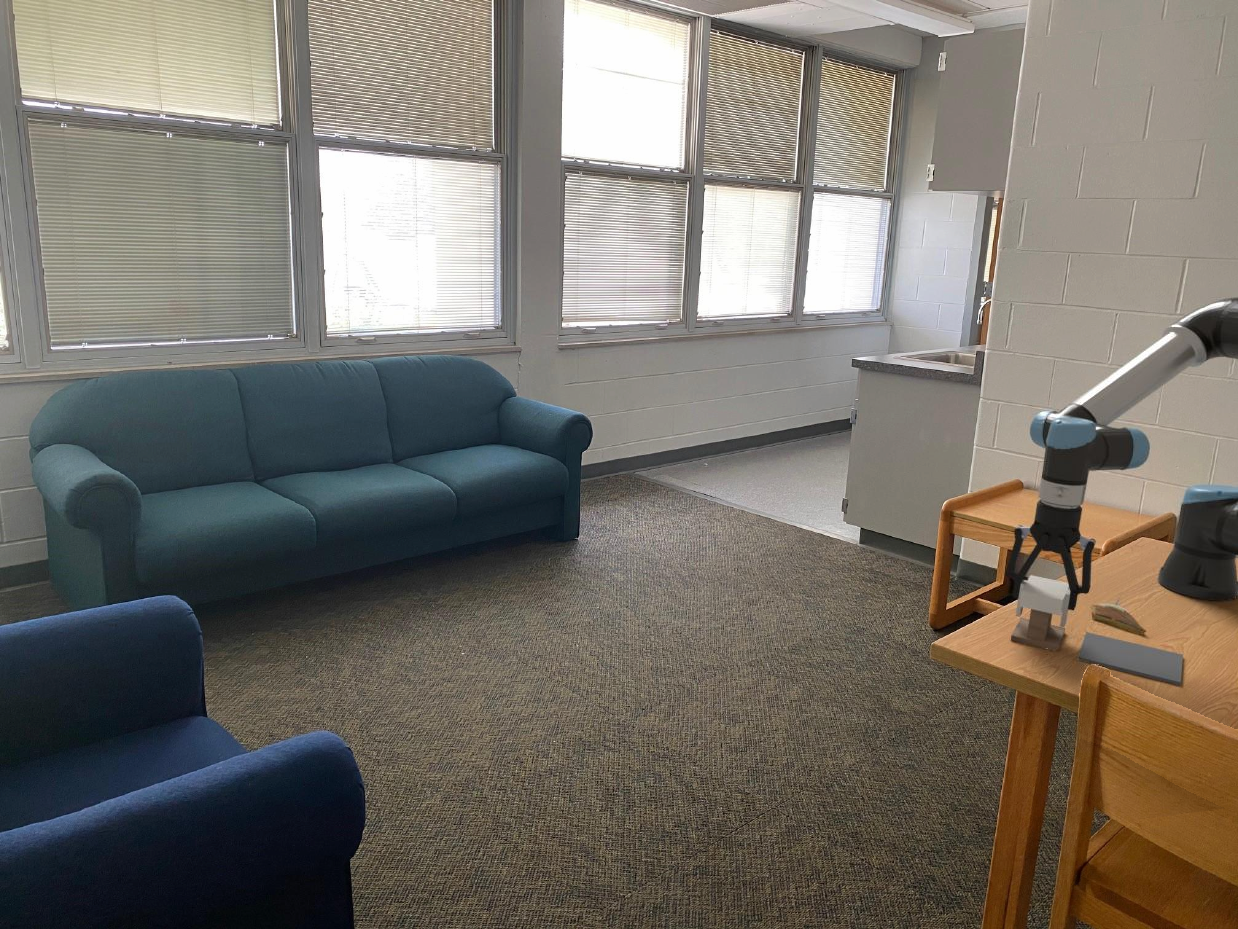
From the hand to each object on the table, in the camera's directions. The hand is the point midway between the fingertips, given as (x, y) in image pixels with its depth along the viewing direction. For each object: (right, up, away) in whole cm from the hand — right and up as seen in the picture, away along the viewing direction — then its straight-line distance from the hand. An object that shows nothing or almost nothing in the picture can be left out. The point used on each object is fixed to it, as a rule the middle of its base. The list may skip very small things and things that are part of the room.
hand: (1040, 619), depth 175 cm
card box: (0, +3, -1) cm, 3 cm away
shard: (+20, -3, +10) cm, 23 cm away
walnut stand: (0, -3, +1) cm, 4 cm away
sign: (+24, 0, +19) cm, 31 cm away
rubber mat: (+13, -6, -7) cm, 16 cm away
